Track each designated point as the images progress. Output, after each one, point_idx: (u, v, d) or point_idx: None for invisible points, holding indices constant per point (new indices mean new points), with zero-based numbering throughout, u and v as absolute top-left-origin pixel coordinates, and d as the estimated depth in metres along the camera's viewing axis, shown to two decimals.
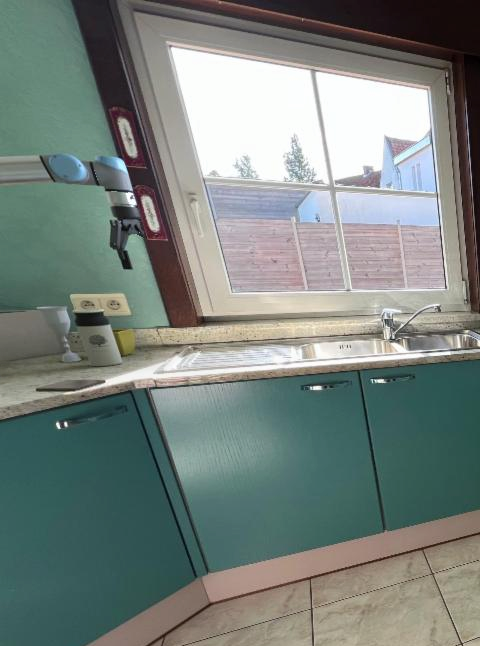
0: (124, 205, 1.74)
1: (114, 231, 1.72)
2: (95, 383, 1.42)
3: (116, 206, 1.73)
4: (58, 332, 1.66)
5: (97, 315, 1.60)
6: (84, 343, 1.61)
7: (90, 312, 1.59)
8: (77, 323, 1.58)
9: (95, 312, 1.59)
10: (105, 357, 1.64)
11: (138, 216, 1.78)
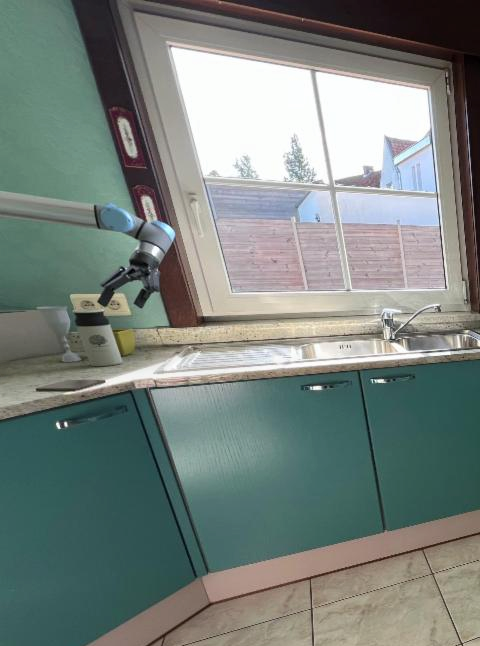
0: (157, 262, 1.80)
1: (156, 278, 1.74)
2: (95, 383, 1.42)
3: (154, 259, 1.78)
4: (58, 332, 1.66)
5: (97, 315, 1.60)
6: (84, 343, 1.61)
7: (90, 312, 1.59)
8: (77, 323, 1.58)
9: (95, 312, 1.59)
10: (105, 357, 1.64)
11: None
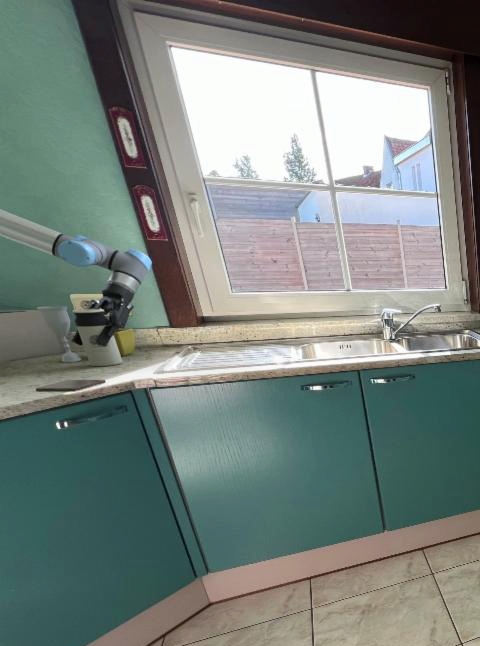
0: (132, 293, 1.72)
1: (125, 313, 1.66)
2: (95, 383, 1.42)
3: (129, 290, 1.70)
4: (58, 332, 1.66)
5: (97, 315, 1.60)
6: (84, 343, 1.61)
7: (90, 312, 1.59)
8: (77, 323, 1.58)
9: (95, 312, 1.59)
10: (105, 357, 1.64)
11: None
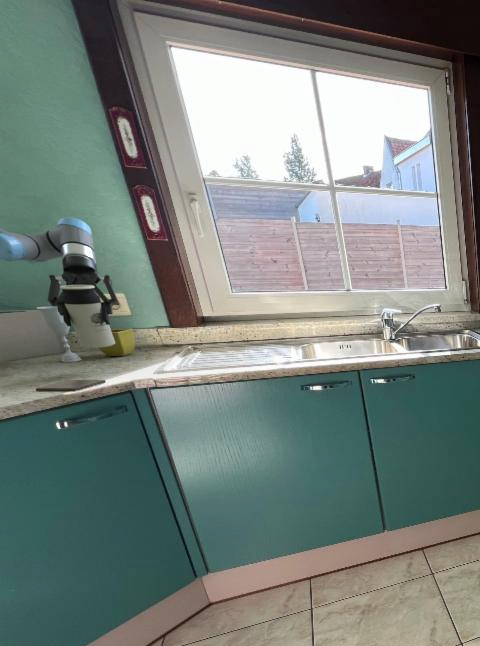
0: None
1: (112, 288, 1.56)
2: (95, 383, 1.42)
3: None
4: (58, 332, 1.66)
5: (93, 292, 1.50)
6: (82, 323, 1.49)
7: (89, 288, 1.48)
8: (75, 301, 1.46)
9: (92, 288, 1.49)
10: (107, 336, 1.54)
11: None
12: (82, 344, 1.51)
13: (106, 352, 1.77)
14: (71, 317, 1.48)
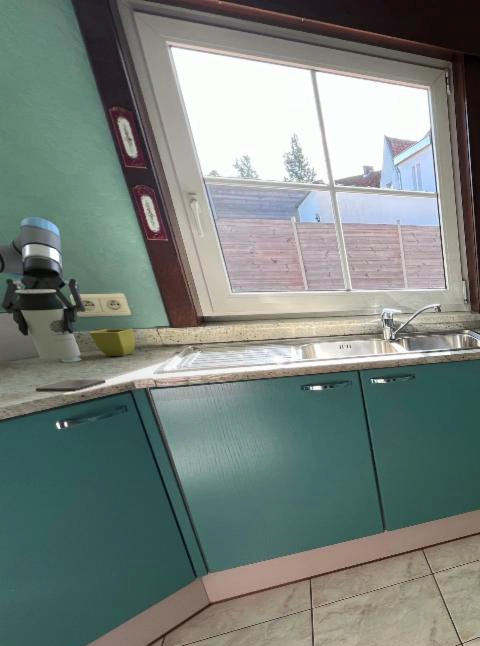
0: None
1: (78, 293, 1.39)
2: (95, 383, 1.42)
3: None
4: None
5: (54, 296, 1.33)
6: (41, 331, 1.31)
7: (49, 292, 1.31)
8: (31, 306, 1.29)
9: (53, 292, 1.32)
10: (70, 347, 1.36)
11: None
12: (41, 356, 1.34)
13: (106, 352, 1.77)
14: (28, 325, 1.31)
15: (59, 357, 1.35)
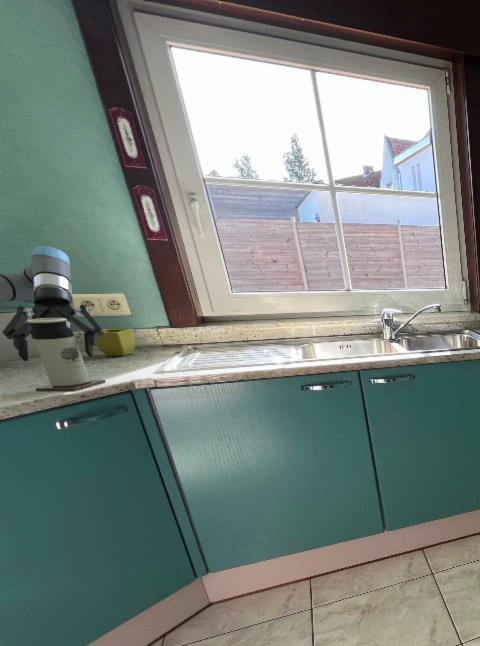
0: None
1: None
2: (95, 383, 1.42)
3: None
4: None
5: (64, 325, 1.36)
6: (52, 359, 1.34)
7: (60, 321, 1.34)
8: (43, 335, 1.32)
9: (64, 321, 1.35)
10: (80, 374, 1.39)
11: None
12: (52, 383, 1.37)
13: (106, 352, 1.77)
14: (39, 353, 1.34)
15: (69, 384, 1.38)
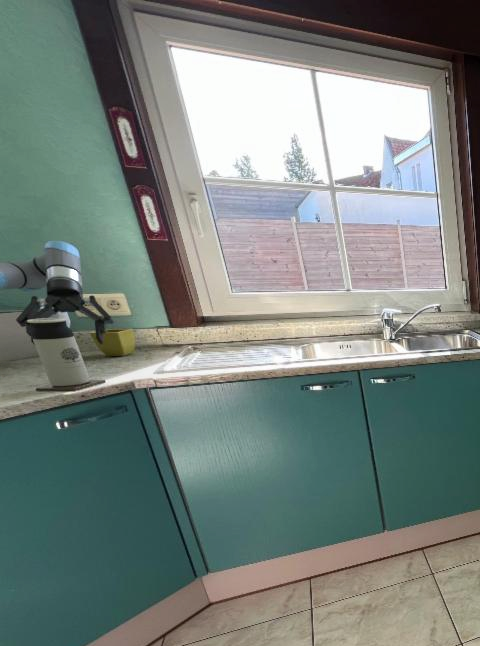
0: None
1: (101, 308, 1.52)
2: (95, 383, 1.42)
3: None
4: None
5: (64, 325, 1.36)
6: (52, 359, 1.34)
7: (60, 321, 1.34)
8: (43, 335, 1.32)
9: (64, 321, 1.35)
10: (80, 374, 1.39)
11: None
12: (52, 383, 1.37)
13: (106, 352, 1.77)
14: (39, 353, 1.34)
15: (69, 384, 1.38)
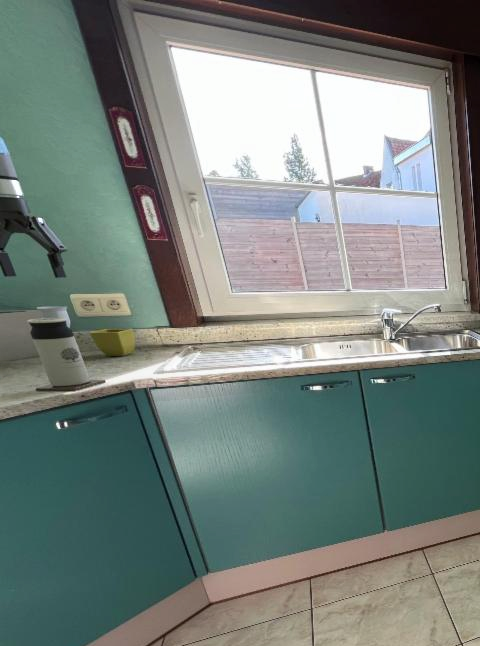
0: None
1: (48, 231, 1.41)
2: (95, 383, 1.42)
3: (18, 198, 1.38)
4: None
5: (64, 325, 1.36)
6: (52, 359, 1.34)
7: (60, 321, 1.34)
8: (43, 335, 1.32)
9: (64, 321, 1.35)
10: (80, 374, 1.39)
11: None
12: (52, 383, 1.37)
13: (106, 352, 1.77)
14: (39, 353, 1.34)
15: (69, 384, 1.38)
